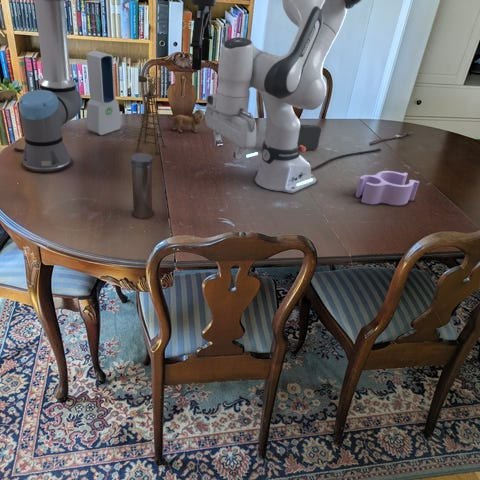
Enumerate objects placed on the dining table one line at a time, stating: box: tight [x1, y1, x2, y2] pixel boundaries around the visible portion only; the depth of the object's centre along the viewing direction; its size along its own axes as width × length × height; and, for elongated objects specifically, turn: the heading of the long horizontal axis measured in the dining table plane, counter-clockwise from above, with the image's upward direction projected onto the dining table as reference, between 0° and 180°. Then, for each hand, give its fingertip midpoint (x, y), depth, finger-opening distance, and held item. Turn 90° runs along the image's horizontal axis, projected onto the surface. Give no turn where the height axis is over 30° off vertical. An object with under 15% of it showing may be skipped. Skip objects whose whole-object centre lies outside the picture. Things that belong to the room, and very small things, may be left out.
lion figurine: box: [169, 108, 205, 133], centre depth 196 cm, size 15×5×9 cm, turn 110°
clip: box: [355, 170, 420, 206], centre depth 160 cm, size 20×12×7 cm, turn 109°
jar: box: [131, 164, 153, 219], centre depth 133 cm, size 5×5×18 cm
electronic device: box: [85, 50, 122, 136], centre depth 182 cm, size 12×8×30 cm, turn 148°
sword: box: [370, 133, 413, 145], centre depth 213 cm, size 31×3×1 cm, turn 126°
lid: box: [130, 152, 153, 167], centre depth 129 cm, size 6×6×2 cm
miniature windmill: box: [136, 67, 166, 154], centre depth 171 cm, size 9×8×30 cm
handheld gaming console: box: [297, 124, 322, 151], centre depth 189 cm, size 23×3×10 cm, turn 108°
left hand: (200, 65), depth 149 cm, fingers open, 13 cm apart
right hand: (227, 152), depth 132 cm, fingers open, 8 cm apart
